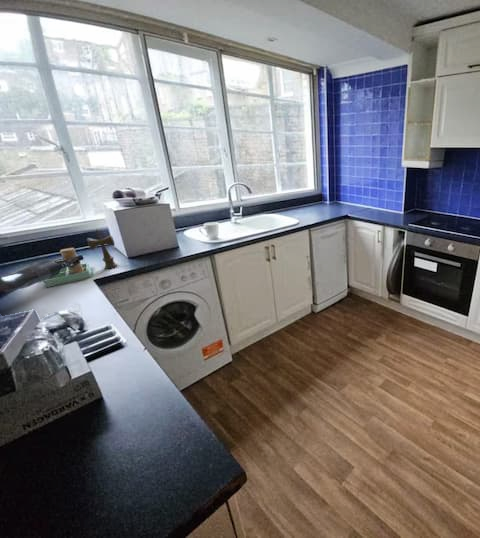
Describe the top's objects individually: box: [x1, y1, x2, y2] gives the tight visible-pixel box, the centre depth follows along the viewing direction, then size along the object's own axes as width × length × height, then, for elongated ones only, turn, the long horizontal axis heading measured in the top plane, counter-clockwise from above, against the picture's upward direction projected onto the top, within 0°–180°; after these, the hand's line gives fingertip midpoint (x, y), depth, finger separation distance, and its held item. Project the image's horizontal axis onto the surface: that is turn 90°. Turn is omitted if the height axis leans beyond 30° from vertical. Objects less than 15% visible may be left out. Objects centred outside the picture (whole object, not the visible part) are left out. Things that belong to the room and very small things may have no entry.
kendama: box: [86, 229, 118, 269], centre depth 147 cm, size 6×10×20 cm, turn 127°
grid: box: [42, 262, 92, 288], centre depth 140 cm, size 15×15×3 cm
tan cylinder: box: [59, 247, 84, 274], centre depth 137 cm, size 5×5×12 cm
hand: (76, 257), depth 139 cm, fingers closed on tan cylinder, 4 cm apart
